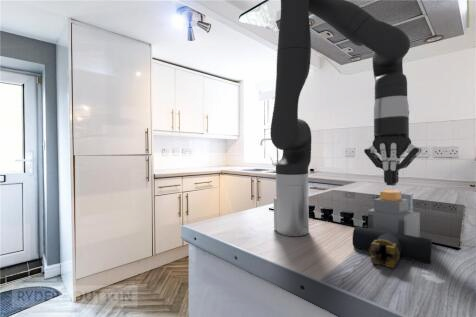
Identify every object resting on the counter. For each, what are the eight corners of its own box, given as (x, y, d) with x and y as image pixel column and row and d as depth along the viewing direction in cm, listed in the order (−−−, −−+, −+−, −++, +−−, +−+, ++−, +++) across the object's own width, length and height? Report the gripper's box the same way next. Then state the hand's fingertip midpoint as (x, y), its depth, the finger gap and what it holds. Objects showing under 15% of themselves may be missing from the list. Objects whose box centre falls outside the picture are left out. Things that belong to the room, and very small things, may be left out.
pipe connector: (428, 251, 46) (343, 235, 56) (428, 280, 46) (343, 258, 56) (431, 235, 55) (358, 223, 65) (431, 260, 55) (358, 244, 65)
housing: (368, 240, 66) (368, 199, 65) (385, 231, 73) (385, 193, 72) (403, 250, 59) (404, 204, 59) (419, 238, 66) (419, 197, 66)
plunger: (380, 202, 64) (380, 191, 64) (385, 200, 67) (385, 190, 67) (395, 204, 62) (395, 193, 62) (401, 202, 64) (401, 191, 64)
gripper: (357, 119, 66) (358, 184, 67) (416, 112, 56) (417, 189, 56) (370, 120, 71) (370, 181, 71) (427, 114, 61) (427, 186, 61)
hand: (391, 185), depth 64 cm, fingers closed
